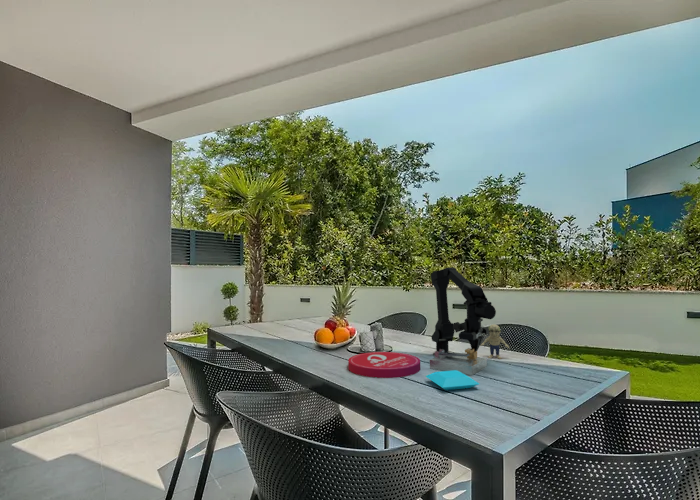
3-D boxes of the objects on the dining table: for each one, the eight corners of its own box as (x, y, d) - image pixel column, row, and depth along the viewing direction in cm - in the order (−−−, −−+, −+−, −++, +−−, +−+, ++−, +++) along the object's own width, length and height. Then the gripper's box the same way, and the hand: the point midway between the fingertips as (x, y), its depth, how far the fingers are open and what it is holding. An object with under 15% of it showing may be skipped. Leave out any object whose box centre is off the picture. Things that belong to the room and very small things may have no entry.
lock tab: (469, 357, 171) (469, 347, 171) (477, 358, 169) (477, 348, 169) (464, 359, 166) (463, 349, 166) (471, 360, 164) (471, 350, 164)
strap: (440, 354, 172) (439, 351, 173) (469, 355, 164) (469, 352, 164) (436, 355, 170) (436, 352, 170) (466, 357, 162) (466, 354, 162)
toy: (479, 357, 185) (479, 324, 185) (480, 355, 190) (480, 323, 191) (509, 360, 180) (508, 326, 181) (509, 357, 186) (509, 324, 186)
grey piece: (446, 360, 181) (446, 345, 181) (487, 366, 169) (486, 350, 170) (429, 368, 168) (429, 352, 168) (471, 375, 157) (471, 358, 157)
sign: (434, 367, 171) (379, 356, 192) (434, 358, 171) (378, 349, 192) (390, 383, 149) (333, 369, 170) (390, 373, 149) (333, 360, 170)
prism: (442, 395, 137) (442, 381, 137) (425, 382, 151) (424, 370, 151) (480, 390, 140) (479, 376, 140) (460, 378, 154) (459, 366, 154)
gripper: (464, 312, 184) (465, 347, 183) (446, 317, 169) (447, 355, 169) (488, 314, 177) (489, 350, 176) (472, 319, 162) (473, 358, 162)
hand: (474, 353), depth 171 cm, fingers closed
